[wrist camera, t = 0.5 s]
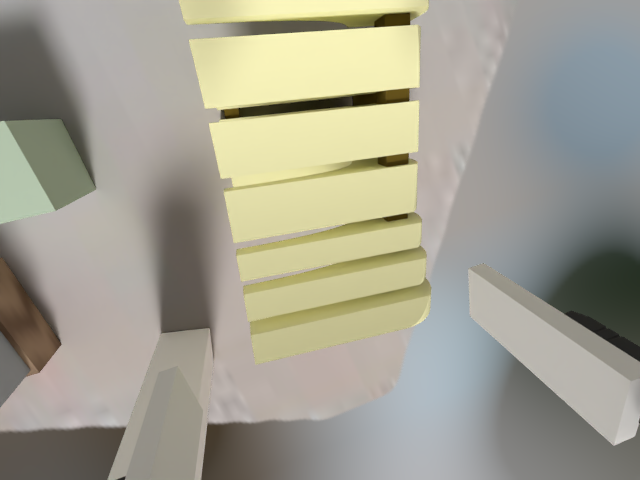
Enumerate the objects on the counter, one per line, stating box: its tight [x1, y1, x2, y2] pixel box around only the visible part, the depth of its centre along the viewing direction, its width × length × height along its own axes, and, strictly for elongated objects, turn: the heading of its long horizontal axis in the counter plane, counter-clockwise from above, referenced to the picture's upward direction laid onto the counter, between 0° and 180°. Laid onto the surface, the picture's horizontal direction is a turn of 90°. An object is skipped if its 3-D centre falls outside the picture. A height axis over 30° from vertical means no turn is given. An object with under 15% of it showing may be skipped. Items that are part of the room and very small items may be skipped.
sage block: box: [0, 119, 96, 224], centre depth 28 cm, size 7×7×8 cm
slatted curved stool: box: [179, 0, 431, 364], centre depth 27 cm, size 30×16×18 cm, turn 5°
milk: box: [108, 328, 214, 480], centre depth 32 cm, size 6×6×22 cm
